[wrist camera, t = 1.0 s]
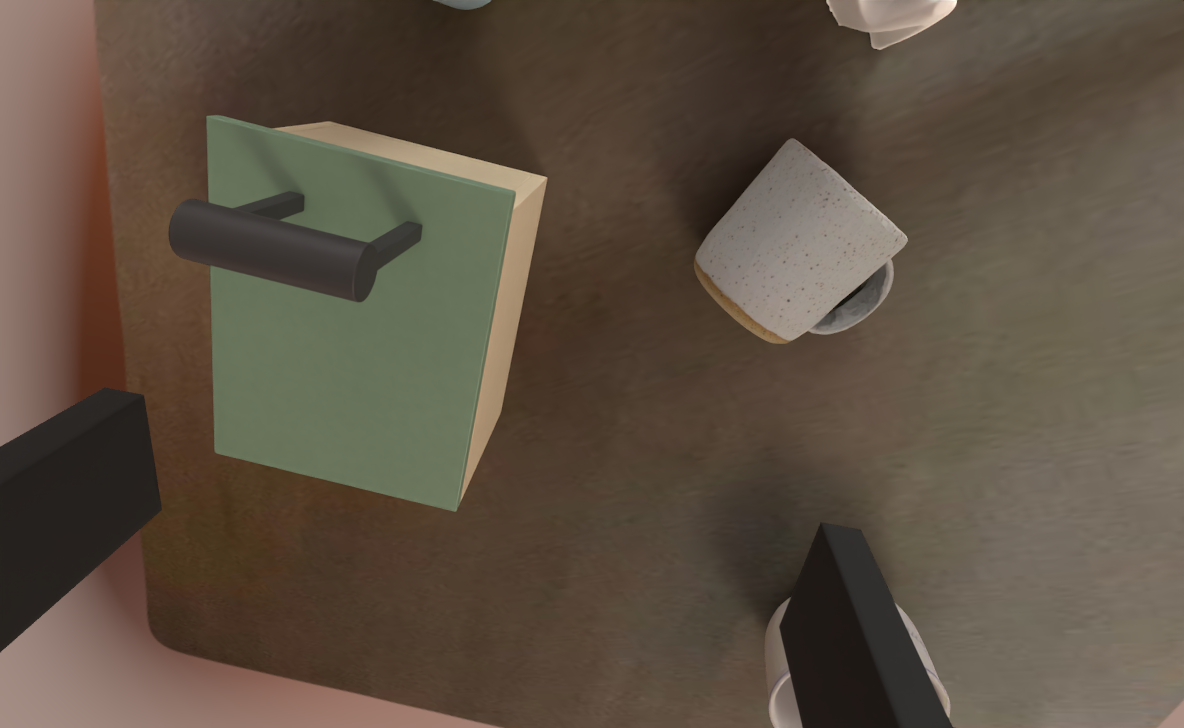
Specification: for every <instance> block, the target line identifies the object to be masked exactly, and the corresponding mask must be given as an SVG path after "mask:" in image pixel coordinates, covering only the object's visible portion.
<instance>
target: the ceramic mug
mask: <svg viewBox="0 0 1184 728" xmlns="http://www.w3.org/2000/svg"><path fill="white" fill-rule="evenodd" d="M907 241H908V239H907V237H906V235H905V234H904V233H903V232H902V231H901V230H900V229H898V228H897V227H896V226H895V225H894V224H893V223H892V222H891V221H890V220H889V219H888V218H887V217H886V216H885V215H883V214H882V213H881V212H880V211H879V210H878V209H876V208H875V207H874V206H873V205H872V204H871V203H870V202H868V201H867V199H866V198H864V197H863V196H862V195H861V194H859V193H858V192H857V191H856V190H855V189H854V188H853V187H852V186H851V185H849V184H848V183H847V182H846V181H845V180H844V179H843V178H842V177H841V176H840V175H839V174H838V173H837V172H835V171H834V170H833V169H832V168H831V167H830V166H828V165H827V164H826V163H824V162H823V161H821V160H820V159H819V158H818V157H817V156H816V155H815V154H814V153H812V152H811V151H810V150H809V149H807V148H806V147H804V146H803V145H802V144H801V143H800V142H798V141H797V140H795V139H789V140H787V141H786V143H785V144H784V145H783V146H782V147H781V148H780V149H779V151H778V152H777V153H776V154H775V156H774V157H773V158H772V159H771V161H770V162H769V163H768V164H767V165H766V167H765V168H764V169H763V170H762V171H761V172H760V174H759V175H758V176H757V177H756V178H755V179H754V181H753V182H752V183H751V184H750V185H749V186H748V188H747V189H746V190H745V191H744V192H743V194H742V195H741V196H740V197H739V199H738V200H737V201H736V202H735V204H734V205H733V206H732V207H731V208H730V209H729V211H728V212H727V213H726V214H725V215H724V216H723V218H722V219H721V220H720V221H719V222H718V223H717V224H716V225H715V227H714V228H713V229H712V230H711V231H710V233H709V234H708V235H707V237H706V238H705V240H704V242H703V243H702V245H701V246H700V248H699V249H698V251H697V253H696V256H695V258H694V267H695V273H696V275H697V277H698V279H699V281H700V282H701V284H702V285H703V287H704V288H705V289H706V291H707V292H708V293H709V294H710V295H711V296H712V297H713V298H714V300H715V301H716V302H717V303H718V304H719V305H720V306H721V307H722V308H723V309H724V310H725V311H726V312H727V313H729V314H730V315H731V316H732V317H733V318H734V319H735V320H737V321H738V322H739V323H740V324H741V325H742V326H744V327H745V328H747V329H748V330H750V331H751V332H752V333H754V334H756V335H757V336H759V337H760V338H762V339H764V340H766V341H768V342H771V343H783V344H784V343H788V342H790V341H792V340H794V339H796V338H797V337H799V336H800V335H802V334H803V333H805V332H806V331H809V332H811V333H816V334H824V335H825V334H832V333H837V332H840V331H843V330H846V329H848V328H850V327H852V326H853V325H855V324H857V323H858V322H860V321H861V320H863V319H864V318H866V317H867V316H868V315H869V314H871V313H872V312H873V311H874V310H875V309H876V308H877V307H878V306H879V305H880V304H881V303H882V301H883V300H884V299H885V297H886V296H887V294H888V293H889V291H890V288H891V285H892V282H893V277H894V269H893V262H892V259H891V258H892V257H893V256H894V255H895V254H896V253H898V252H899V251H900V250H901V249H902V248H903V247H904V246H905V244H906V243H907ZM872 274H873V275H872ZM871 275H872V277H871V279H870V280H869V281H868V283H867V285H866V286H865V287H864V288H863V289H862V290H861V291H860V292H858V293H857V294H856V295H855V296H854V297H852V298H851V299H850V300H848V301H847V302H846V303H845V304H844V305H843V306H841V307H838V308H837V309H836V310H835V311H833V312H832V313H829V312H830V311H831V310H832V309H833V308H834V307H835V306H836V305H837V304H838V303H839V302H840V301H841V300H843V299H844V298H845V297H846V296H847V295H849V294H850V293H851V292H852V291H853V290H855V289H856V288H857V287H858V286H859V285H861V284H862V283H863V282H864V281H865V280H866V279H868V278H869V277H870V276H871ZM827 313H829V314H827Z"/></svg>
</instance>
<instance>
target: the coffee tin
mask: <svg viewBox="0 0 1184 728" xmlns="http://www.w3.org/2000/svg"><path fill="white" fill-rule="evenodd" d="M434 1H437V2H440V3H442V4H445V5H448V6H450V7H453V8H457V9H463V10H470V9H476V8H479V7H482V6H484V5H486V4H487V3H489V2H490V1H491V0H434Z"/></svg>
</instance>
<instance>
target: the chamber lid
mask: <svg viewBox="0 0 1184 728" xmlns="http://www.w3.org/2000/svg"><path fill="white" fill-rule="evenodd" d="M206 123H207V163H208V202H205V201H201V200H197V199H188V200H186V201H184V202H182V203H181V204H180V205H179V206H178V207H177V208H176V210H175V211H174V213H173V215H172V218H171V221H170V225H169V241H170V245H171V247H172V250H173V251H174V253H175V254H176V255H178V256H179V257H180V258H183V259H187V260H191V261H194V262H198V263H202V264H206V265H210V285H211V326H212V367H213V407H214V448H215V453H218V454H222V455H226V456H230V457H234V458H238V459H242V460H246V461H250V462H254V463H259V464H263V465H267V466H271V467H275V468H279V469H283V470H287V471H291V472H295V473H299V474H304V475H308V476H312V477H316V478H320V479H324V480H328V481H332V482H336V483H340V484H344V485H348V486H353V487H357V488H361V489H365V490H369V491H373V492H377V493H381V494H385V495H389V496H393V497H398V498H402V499H406V500H410V501H414V502H418V503H422V504H426V505H430V506H434V507H438V508H442V509H447V510H451V511H457V509H458V506H459V504H460V501H461V495H462V490H463V484H464V479H465V473H466V467H467V462H468V456H469V451H470V445H471V440H472V434H473V429H474V423H475V418H476V412H477V406H478V401H479V395H480V390H481V384H482V379H483V373H484V368H485V362H486V357H487V351H488V346H489V340H490V334H491V329H492V323H493V318H494V312H495V307H496V301H497V296H498V290H499V285H500V279H501V273H502V268H503V262H504V257H505V251H506V246H507V240H508V235H509V229H510V224H511V218H512V213H513V207H514V201H515V196H516V191H514V190H510V189H506V188H502V187H498V186H494V185H490V184H486V183H482V182H478V181H475V180H471V179H467V178H463V177H459V176H455V175H451V174H447V173H443V172H439V171H435V170H432V169H428V168H424V167H420V166H416V165H412V164H408V163H404V162H400V161H396V160H392V159H389V158H385V157H381V156H377V155H373V154H369V153H365V152H361V151H357V150H353V149H350V148H346V147H342V146H338V145H334V144H330V143H326V142H322V141H318V140H314V139H310V138H307V137H303V136H299V135H295V134H291V133H287V132H283V131H279V130H275V129H271V128H267V127H264V126H260V125H256V124H252V123H248V122H244V121H240V120H236V119H232V118H228V117H224V116H221V115H212V116H207V117H206Z"/></svg>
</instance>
